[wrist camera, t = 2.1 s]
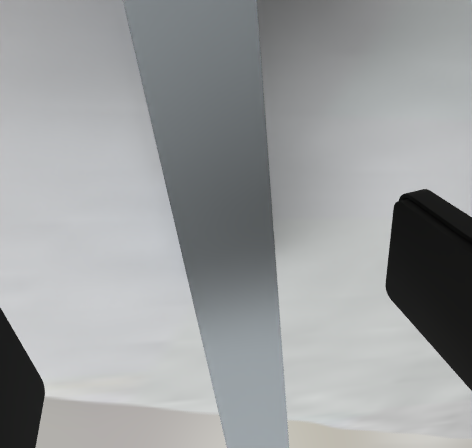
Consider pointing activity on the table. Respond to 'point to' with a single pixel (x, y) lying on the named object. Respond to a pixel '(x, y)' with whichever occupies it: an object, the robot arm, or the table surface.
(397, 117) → the table surface
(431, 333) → the robot arm
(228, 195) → the grey panel
